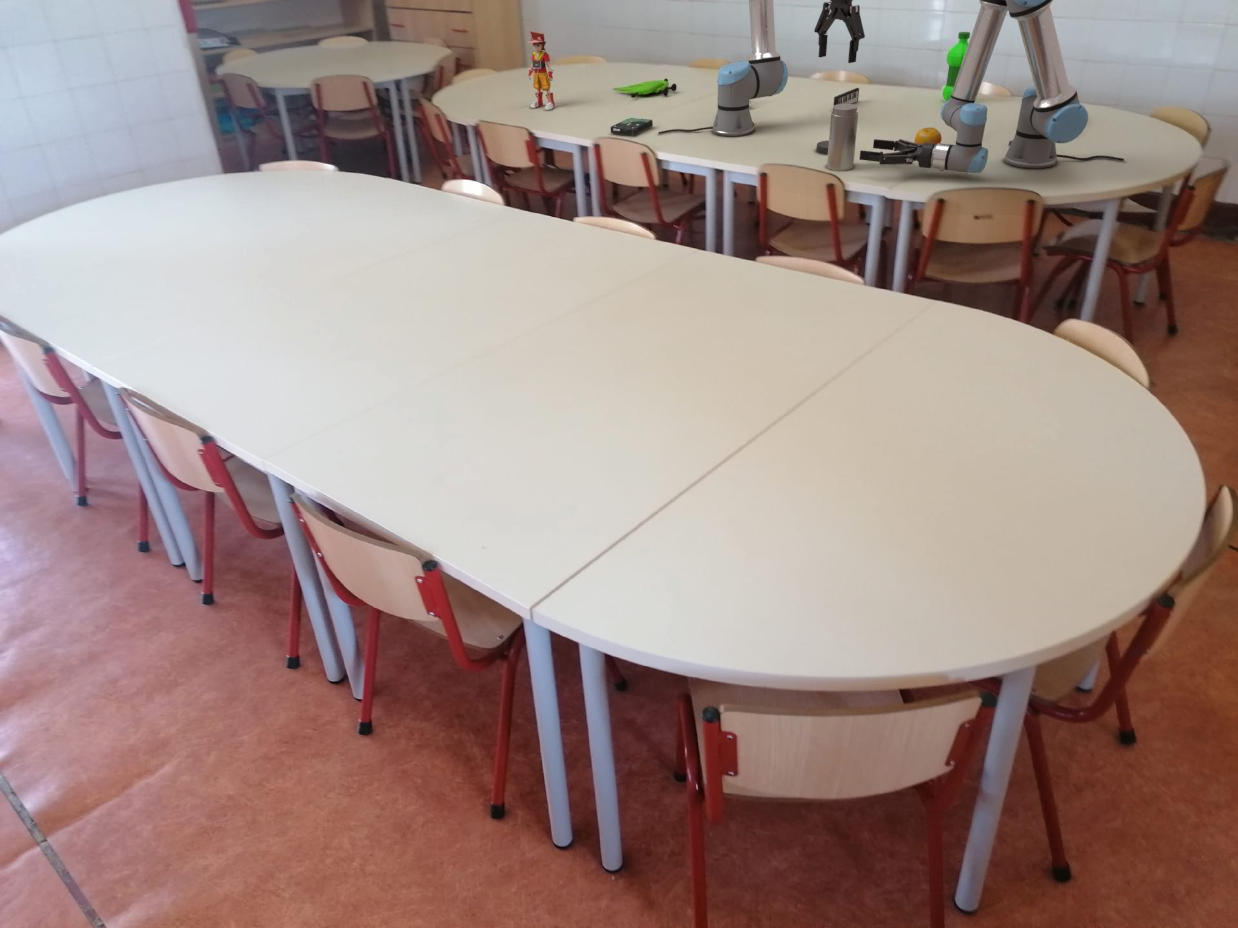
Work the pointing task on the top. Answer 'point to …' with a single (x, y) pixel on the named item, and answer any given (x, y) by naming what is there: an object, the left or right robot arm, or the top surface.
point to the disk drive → (631, 126)
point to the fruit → (928, 136)
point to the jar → (842, 137)
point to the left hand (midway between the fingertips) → (836, 59)
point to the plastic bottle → (955, 63)
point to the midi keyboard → (847, 97)
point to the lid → (822, 147)
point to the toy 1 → (541, 71)
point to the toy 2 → (648, 88)
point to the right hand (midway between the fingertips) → (866, 149)
